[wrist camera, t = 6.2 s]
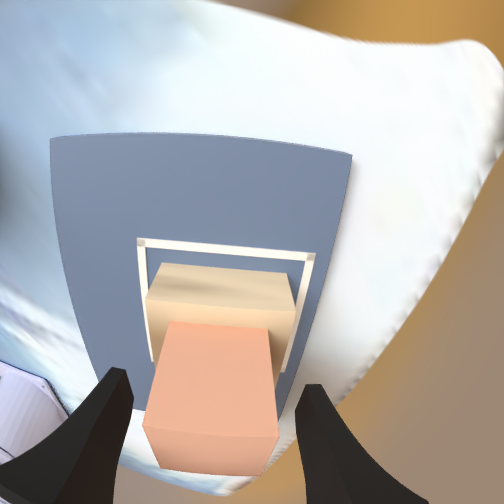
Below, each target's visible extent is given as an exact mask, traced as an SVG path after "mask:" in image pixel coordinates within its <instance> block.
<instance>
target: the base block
mask: <svg viewBox="0 0 504 504" xmlns="http://www.w3.org/2000/svg"><path fill="white" fill-rule="evenodd" d="M145 305H146V313H147V321H148V328H149V335H150V342H151V348H152V354H153V360H154V366H155V371H156V368H157V364H158V361H159V357H160V353H161V350H162V346H163V343H164V339H165V336H166V332H167V329H168V326H169V322H170V321H179V322H188V323H198V324H208V325H220V326H233V327H247V328H263V329H268V336H269V346H270V355H271V364H272V373H273V382H274V391H275V388H276V384H277V381H278V378H279V374H280V371H281V367H282V364H283V360H284V356H285V353H286V349H287V346H288V342H289V338H290V334H291V331H292V327H293V323H294V319H295V315H296V308H295V305H294V301H293V297H292V293H291V289H290V285H289V281H288V277H287V273H277V272H265V271H252V270H240V269H228V268H217V267H206V266H195V265H184V264H173V263H163V262H162V263H161V265H160V268H159V270H158V272H157V274H156V276H155V278H154V280H153V282H152V284H151V286H150V289H149V291H148V293H147V295H146V297H145Z"/></svg>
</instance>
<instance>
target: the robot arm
mask: <svg viewBox="0 0 504 504" xmlns="http://www.w3.org/2000/svg"><path fill="white" fill-rule="evenodd" d="M0 375H1V377H2V379H1V380H0V504H113V495H114V484H115V477H116V470H117V465H118V460H119V457H120V453H121V450H122V446H123V443H124V439H125V436H126V433H127V429H128V426H129V423H130V419H131V414H132V409H133V403H134V395H133V392H132V389H131V386H130V382H129V379H128V376H127V372H126V369H121V368H116V367H111V368H110V369H109V370H108V372H107V373H106V374H105V375H104V377H103V378H102V379H101V381H100V382H99V383H98V384H97V386H96V387H95V388H94V389H93V390H92V392H91V393H90V394H89V395H88V396H87V397H86V399H85V400H84V401H83V402H82V403H81V404H80V406H79V407H78V408H77V409H76V410H75V411H74V412H73V413H72V414H71V415H70V416H69V417H68V415H67V414H66V412H65V411H64V409H63V408H62V406H61V405H60V403H59V401H58V400H57V398H56V397H55V395H54V393H53V392H52V390H51V388H50V387H49V385H48V383H47V382H46V380H44V379H43V378H40V377H38V376H35V375H32V374H30V373H27V372H24V371H22V370H19V369H17V368H15V367H12V366H10V365H7V364H5V363H3V362H1V361H0ZM295 423H296V434H297V439H298V444H299V450H300V454H301V460H302V465H303V470H304V476H305V482H306V496H307V504H429V503H428V501H427V500H425V499H423V498H422V497H420V496H418V495H417V494H415V493H414V492H412V491H411V490H409V489H408V488H406V487H405V486H403V485H402V484H401V483H399V482H398V481H397V480H396V479H394V478H393V477H392V476H391V475H390V474H388V473H387V472H386V471H385V470H384V469H383V468H382V467H381V466H380V465H379V464H378V463H377V462H375V460H374V459H373V458H372V457H371V456H370V455H369V454H368V453H367V452H366V450H365V449H364V448H363V447H362V446H361V444H360V443H359V442H358V441H357V439H356V438H355V437H354V436H353V434H352V433H351V431H350V430H349V429H348V428H347V426H346V424H345V423H344V421H343V420H342V419H341V417H340V415H339V414H338V412H337V411H336V409H335V407H334V406H333V404H332V402H331V401H330V399H329V397H328V396H327V394H326V392H325V390H324V389H323V387H322V385H321V384H306V386H305V388H304V390H303V393H302V395H301V398H300V400H299V402H298V405H297V407H296V409H295Z"/></svg>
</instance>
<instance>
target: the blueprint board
mask: <svg viewBox="0 0 504 504" xmlns="http://www.w3.org/2000/svg"><path fill="white" fill-rule="evenodd" d="M352 156H353V155H351V154H348V153H345V152H340V151H335V150H330V149H324V148H319V147H313V146H307V145H300V144H294V143H287V142H279V141H272V140H263V139H255V138H245V137H234V136H222V135H208V134H189V133H105V134H88V135H74V136H63V137H56V138H52V139H50V168H51V184H52V196H53V205H54V214H55V222H56V229H57V235H58V241H59V247H60V252H61V258H62V263H63V268H64V272H65V277H66V281H67V285H68V289H69V293H70V297H71V301H72V305H73V308H74V312H75V315H76V319H77V322H78V325H79V329H80V332H81V335H82V338H83V341H84V344H85V347H86V349H87V352H88V355H89V358H90V361H91V363H92V366H93V368H94V371H95V373H96V376H97V378H98V381H99V382H100V381H101V379H102V378H103V377H104V375H105V374H106V373H107V372H108V370H109V369H110V368H111V367H116V368H121V369H126V372H127V376H128V379H129V382H130V386H131V389H132V392H133V395H134V403H133V409H137V410H142V411H146V407H147V403H148V399H149V395H150V391H151V387H152V383H153V379H154V376H155V372H156V371H155V366H154V360H153V354H152V348H151V342H150V335H149V328H148V321H147V313H146V305H145V297H146V295H147V293H148V291H149V289H150V286H151V284H152V282H153V280H154V278H155V276H156V274H157V272H158V270H159V268H160V265H161V263H162V262H163V263H173V264H184V265H195V266H206V267H217V268H228V269H240V270H252V271H265V272H277V273H287V277H288V281H289V285H290V289H291V293H292V297H293V301H294V305H295V308H296V315H295V319H294V323H293V327H292V331H291V334H290V338H289V342H288V346H287V349H286V353H285V356H284V360H283V364H282V367H281V371H280V374H279V378H278V381H277V384H276V388H275V401H276V410H277V420H278V421H279V418H280V416H281V413H282V410H283V408H284V405H285V402H286V400H287V397H288V394H289V391H290V389H291V386H292V383H293V380H294V377H295V374H296V371H297V369H298V366H299V363H300V360H301V357H302V354H303V351H304V347H305V344H306V341H307V338H308V335H309V332H310V328H311V325H312V322H313V319H314V315H315V312H316V308H317V305H318V302H319V298H320V295H321V291H322V287H323V284H324V280H325V276H326V273H327V269H328V265H329V261H330V257H331V253H332V249H333V245H334V241H335V237H336V233H337V228H338V224H339V220H340V215H341V211H342V206H343V202H344V197H345V192H346V187H347V182H348V177H349V172H350V167H351V161H352Z"/></svg>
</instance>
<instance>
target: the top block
mask: <svg viewBox="0 0 504 504" xmlns="http://www.w3.org/2000/svg"><path fill="white" fill-rule="evenodd" d="M142 426H143V429H144V431H145V434H146V436H147V439H148V441H149V443H150V446H151V448H152V450H153V453H154V455H155V457H156V459H157V461H158V464H159V466H160V468H162V469H168V470H175V471H182V472H190V473H200V474H211V475H227V476H261V475H262V473H263V471H264V469H265V467H266V464H267V462H268V460H269V458H270V456H271V454H272V452H273V450H274V447H275V445H276V443H277V441H278V439H279V429H278V420H277V410H276V401H275V391H274V382H273V373H272V364H271V355H270V346H269V336H268V329H263V328H247V327H233V326H220V325H208V324H198V323H188V322H179V321H170V322H169V326H168V329H167V332H166V336H165V339H164V343H163V346H162V350H161V353H160V357H159V361H158V364H157V368H156V372H155V376H154V379H153V383H152V387H151V391H150V395H149V399H148V403H147V407H146V411H145V415H144V420H143V424H142Z"/></svg>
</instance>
